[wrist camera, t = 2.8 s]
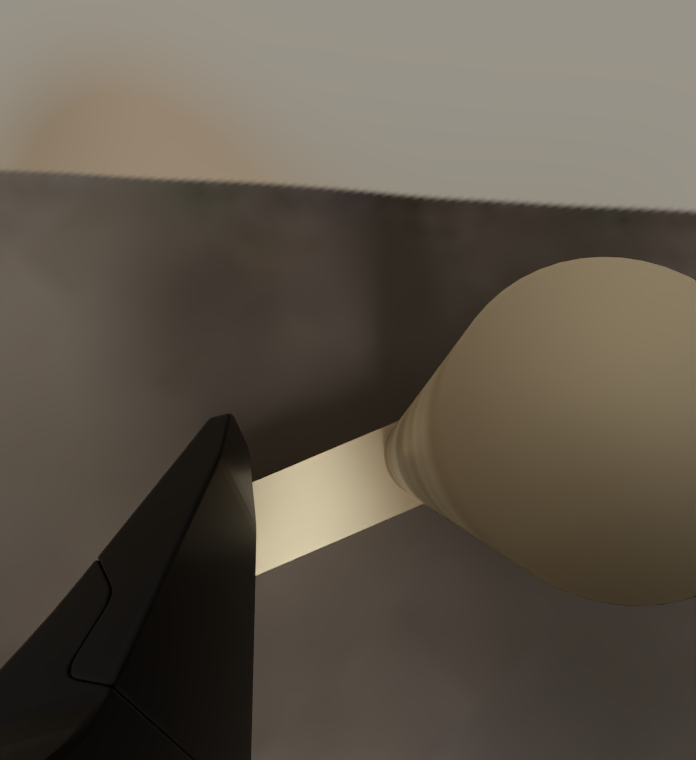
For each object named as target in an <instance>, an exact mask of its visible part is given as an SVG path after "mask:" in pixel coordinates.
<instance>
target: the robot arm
mask: <svg viewBox="0 0 696 760" xmlns="http://www.w3.org/2000/svg"><path fill="white" fill-rule="evenodd" d="M98 560H99V561H98ZM98 560H96V561H94V562H93V564H92V565H91V566H90V567H89V569H88V570H87V571H86V572H85V573H84V575H83V576H82V577H81V578H80V580H79V581H78V582H77V583H76V584H75V586H74V587H73V588H72V589H71V590H70V592H69V593H68V594H67V595H66V596H65V598H64V599H63V600H62V601H61V602H60V604H59V605H58V606H57V607H56V608H55V609H54V611H53V612H52V613H51V614H50V615H49V616H48V617H47V618H46V620H45V621H44V622H43V623H42V624H41V625H40V626H39V627H38V628H37V630H36V631H35V632H34V633H33V634H32V635H31V636H30V637H29V638H28V640H27V641H26V642H25V643H24V644H23V645H22V646H21V647H20V648H19V649H18V651H17V652H16V653H15V654H14V655H13V656H12V657H11V658H10V659H9V660H8V661H7V662H6V664H5V665H4V666H3V667H2V668H1V669H0V760H251V739H252V698H253V656H254V615H255V574H256V515H255V504H254V495H253V485H252V475H251V465H250V456H249V451H248V447H247V444H246V442H245V440H244V437H243V435H242V433H241V431H240V429H239V426H238V424H237V422H236V420H235V418H234V416H233V415H232V414H224V415H220V416H216V417H213V418H210V419H209V420H208V421H207V422H206V424H205V425H204V426H203V427H202V429H201V430H200V431H199V432H198V434H197V435H196V436H195V437H194V439H193V440H192V441H191V442H190V444H189V445H188V446H187V447H186V449H185V450H184V451H183V452H182V453H181V455H180V456H179V457H178V458H177V460H176V461H175V462H174V463H173V465H172V466H171V467H170V468H169V470H168V471H167V472H166V473H165V475H164V476H163V477H162V478H161V479H160V481H159V482H158V483H157V484H156V486H155V487H154V488H153V489H152V491H151V492H150V493H149V494H148V496H147V497H146V498H145V499H144V501H143V502H142V503H141V504H140V506H139V507H138V508H137V509H136V510H135V512H134V513H133V514H132V515H131V517H130V518H129V519H128V520H127V522H126V523H125V524H124V525H123V527H122V528H121V529H120V530H119V532H118V533H117V534H116V535H115V537H114V538H113V539H112V540H111V541H110V543H109V544H108V545H107V546H106V548H105V549H104V550H103V551H102V553H101V554H100V555H99V557H98Z"/></svg>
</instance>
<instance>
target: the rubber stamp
mask: <svg viewBox="0 0 696 760" xmlns="http://www.w3.org/2000/svg"><path fill="white" fill-rule="evenodd" d="M252 485H253V495H254V504H255V515H256V574H255V576H256V575H259V574H261V573H263V572H266V571H268V570H270V569H273V568H275V567H277V566H280V565H282V564H284V563H286V562H289V561H291V560H293V559H296V558H298V557H300V556H303V555H305V554H307V553H310V552H312V551H314V550H317V549H319V548H321V547H324V546H326V545H328V544H331V543H333V542H335V541H338V540H340V539H342V538H345V537H347V536H349V535H352V534H354V533H356V532H359V531H361V530H363V529H366V528H368V527H370V526H373V525H375V524H377V523H380V522H382V521H384V520H387V519H389V518H391V517H394V516H396V515H398V514H401V513H403V512H405V511H408V510H410V509H412V508H415V507H417V506H419V505H422V504H425V505H427V506H429V507H430V508H432V509H433V510H435V511H436V512H438V513H439V514H441V515H442V516H444V517H446V518H447V519H449V520H450V521H452V522H453V523H455V524H456V525H458V526H459V527H461V528H463V529H464V530H466V531H467V532H469V533H470V534H472V535H473V536H475V537H476V538H478V539H480V540H481V541H483V542H484V543H486V544H487V545H489V546H490V547H492V548H493V549H495V550H497V551H498V552H500V553H501V554H503V555H504V556H506V557H507V558H509V559H510V560H512V561H514V562H515V563H517V564H518V565H520V566H521V567H523V568H524V569H526V570H528V571H529V572H531V573H532V574H534V575H535V576H537V577H538V578H540V579H542V580H544V581H546V582H548V583H549V584H551V585H553V586H555V587H557V588H559V589H561V590H563V591H566V592H569V593H572V594H575V595H577V596H580V597H583V598H586V599H590V600H594V601H599V602H604V603H608V604H615V605H628V606H649V605H663V604H668V603H673V602H677V601H682V600H687V599H689V598H692V597H695V596H696V280H694V279H692V278H690V277H689V276H686V275H684V274H682V273H679V272H677V271H674V270H672V269H669V268H667V267H664V266H660V265H657V264H653V263H649V262H646V261H640V260H634V259H628V258H618V257H593V258H580V259H575V260H570V261H565V262H560V263H557V264H554V265H551V266H548V267H545V268H542V269H539V270H537V271H535V272H533V273H531V274H529V275H527V276H525V277H523V278H521V279H519V280H518V281H516V282H515V283H513V284H512V285H510V286H509V287H507V288H506V289H504V290H503V291H502V292H500V293H499V294H498V295H497V296H496V297H495V298H494V299H493V300H491V301H490V302H489V303H488V304H487V305H486V306H485V307H484V309H483V310H482V311H481V312H480V313H479V314H478V316H477V317H476V318H475V319H474V320H473V322H472V323H471V324H470V326H469V327H468V328H467V330H466V331H465V332H464V334H463V335H462V336H461V338H460V339H459V341H458V342H457V343H456V345H455V346H454V347H453V349H452V350H451V351H450V353H449V354H448V355H447V357H446V358H445V359H444V361H443V362H442V363H441V365H440V366H439V367H438V369H437V370H436V372H435V373H434V374H433V376H432V377H431V378H430V380H429V381H428V382H427V384H426V385H425V386H424V388H423V389H422V390H421V392H420V393H419V394H418V396H417V397H416V399H415V400H414V401H413V403H412V404H411V405H410V407H409V408H408V409H407V411H406V412H405V413H404V415H403V416H402V417H401V419H400V420H399V421H397V422H394V423H392V424H390V425H387V426H385V427H382V428H380V429H378V430H375V431H373V432H371V433H368V434H366V435H364V436H361V437H359V438H356V439H354V440H352V441H349V442H347V443H345V444H342V445H340V446H337V447H335V448H333V449H330V450H328V451H326V452H323V453H321V454H318V455H316V456H314V457H311V458H309V459H307V460H304V461H302V462H300V463H297V464H295V465H292V466H290V467H288V468H285V469H283V470H281V471H278V472H276V473H273V474H271V475H269V476H266V477H264V478H262V479H259V480H257V481H254V482H252Z"/></svg>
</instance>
